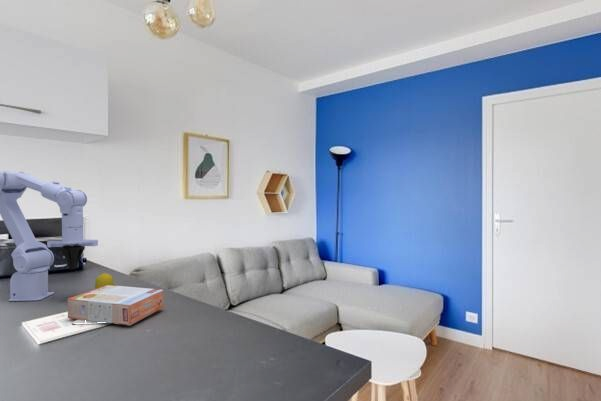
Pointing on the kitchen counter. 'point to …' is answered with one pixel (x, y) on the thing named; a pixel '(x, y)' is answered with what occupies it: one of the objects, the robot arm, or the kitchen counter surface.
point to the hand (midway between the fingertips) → (73, 268)
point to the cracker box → (115, 304)
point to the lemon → (104, 280)
